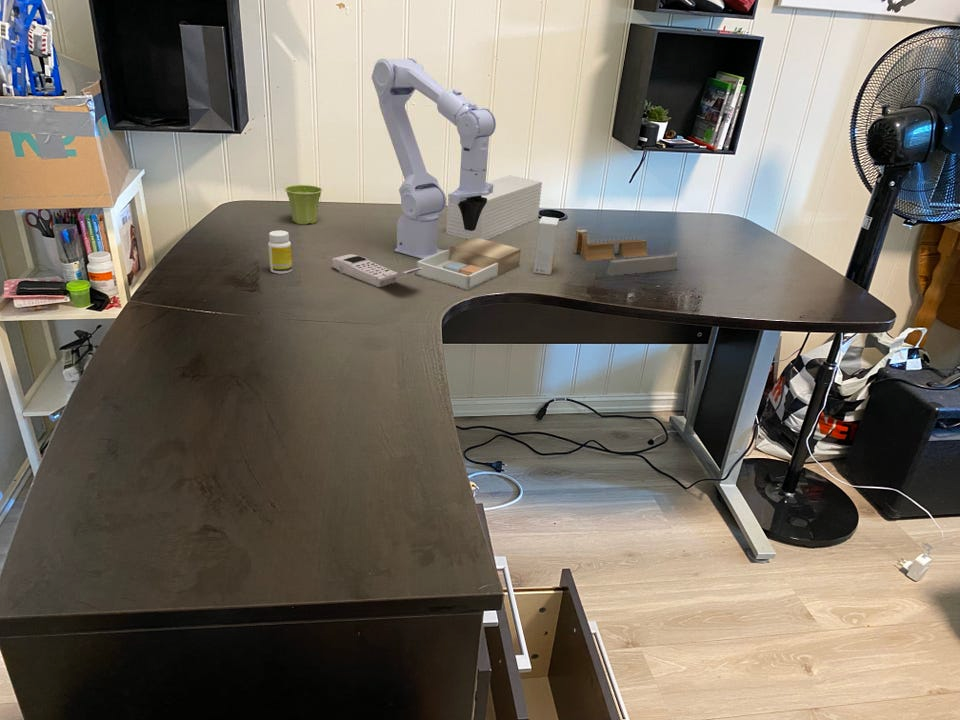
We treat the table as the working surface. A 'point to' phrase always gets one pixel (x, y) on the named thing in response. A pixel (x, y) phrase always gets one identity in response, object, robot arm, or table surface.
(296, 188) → the plant pot
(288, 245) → the supplement bottle
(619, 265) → the skate ramp
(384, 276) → the mobile phone
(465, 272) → the terracotta tile
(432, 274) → the white tray
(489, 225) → the stack of papers
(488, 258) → the oak block
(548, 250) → the skincare box
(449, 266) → the blue tile
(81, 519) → the table surface
